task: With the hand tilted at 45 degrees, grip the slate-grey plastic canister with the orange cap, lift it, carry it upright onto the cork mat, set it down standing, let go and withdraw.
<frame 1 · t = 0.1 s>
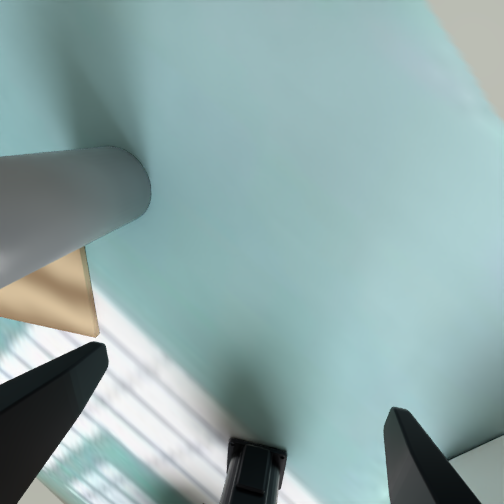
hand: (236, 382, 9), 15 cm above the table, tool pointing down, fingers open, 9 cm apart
mat: (37, 274, 29), on the table
milk carton: (495, 467, 27), on the table
canister: (116, 185, 24), on the table
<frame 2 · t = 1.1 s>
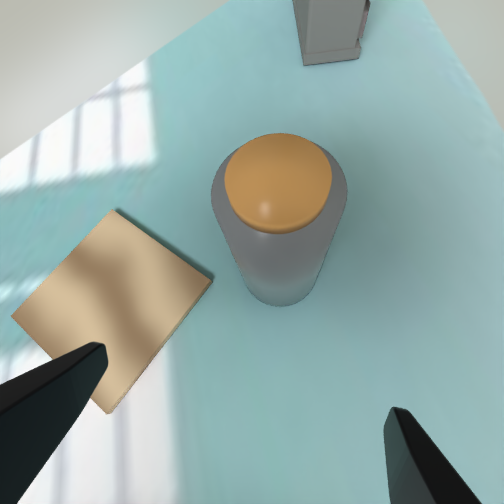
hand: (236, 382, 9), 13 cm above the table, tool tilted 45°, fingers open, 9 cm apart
mat: (113, 299, 25), on the table
tall grey pillar: (322, 25, 35), on the table
canister: (279, 270, 24), on the table
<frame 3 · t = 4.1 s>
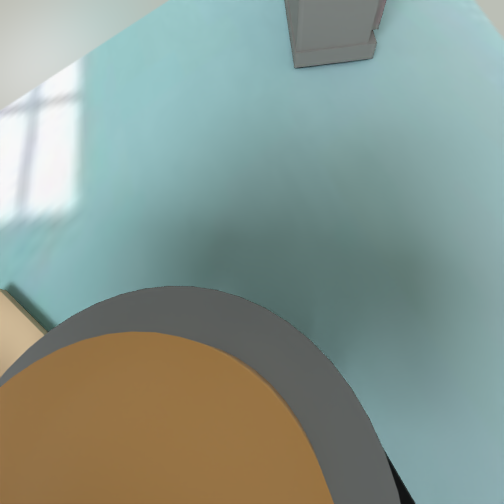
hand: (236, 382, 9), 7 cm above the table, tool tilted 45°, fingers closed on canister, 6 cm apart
tall grey pillar: (321, 13, 25), on the table
canister: (249, 405, 15), on the table, touching gripper
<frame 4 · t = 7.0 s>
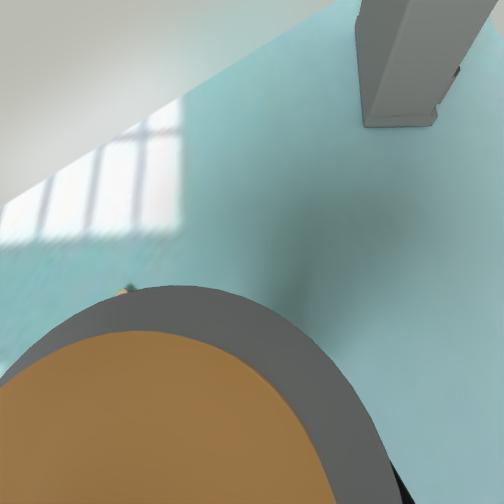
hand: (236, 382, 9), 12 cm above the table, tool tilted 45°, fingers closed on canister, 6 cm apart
tall grey pillar: (389, 76, 29), on the table
canister: (250, 404, 15), point 6 cm above the table, touching gripper
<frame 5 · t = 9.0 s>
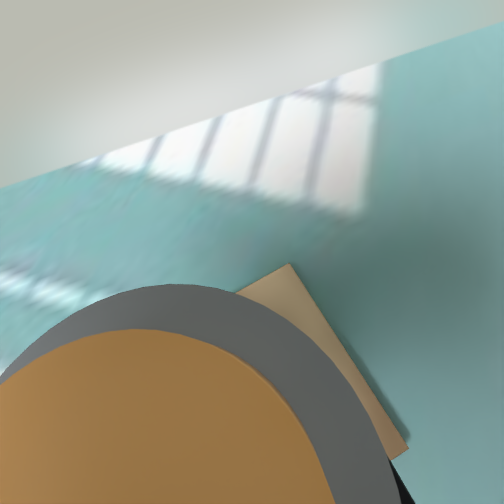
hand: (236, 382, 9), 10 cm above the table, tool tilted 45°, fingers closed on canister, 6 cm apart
mat: (255, 396, 18), on the table
canister: (249, 404, 15), point 3 cm above the table, touching gripper
when the fingers open (8 cm above the table, at t = 10.2 s): canister drops 1 cm, resting on mat.
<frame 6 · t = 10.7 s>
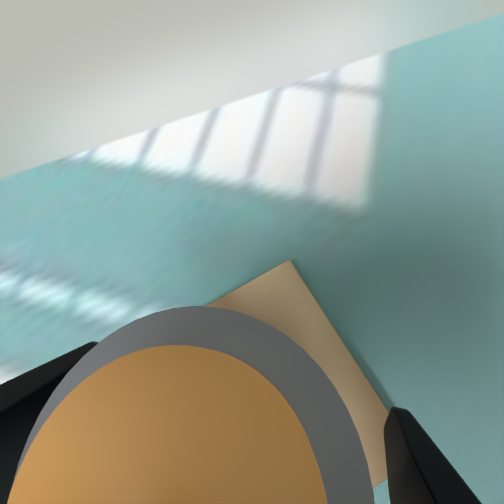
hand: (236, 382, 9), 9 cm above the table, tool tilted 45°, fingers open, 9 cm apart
mat: (253, 400, 16), on the table
canister: (252, 403, 16), point 1 cm above the table, touching mat
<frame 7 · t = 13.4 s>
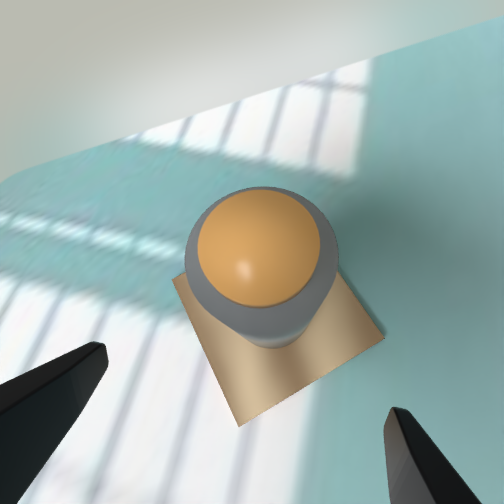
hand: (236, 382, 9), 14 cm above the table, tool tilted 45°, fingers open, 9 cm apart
mat: (271, 308, 23), on the table
canister: (271, 307, 23), point 1 cm above the table, touching mat
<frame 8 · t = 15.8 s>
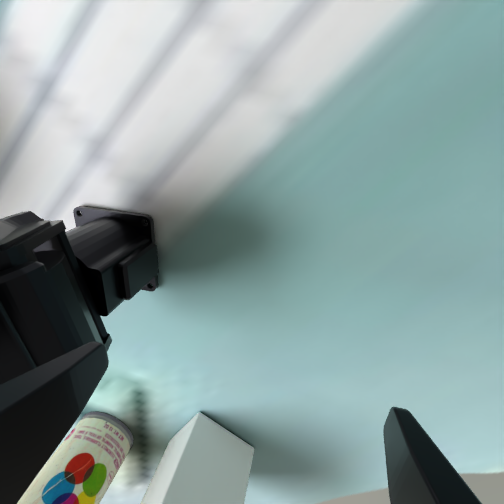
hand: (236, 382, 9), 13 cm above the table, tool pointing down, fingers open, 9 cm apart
milk carton: (211, 440, 32), on the table
aerosol can: (108, 430, 35), on the table
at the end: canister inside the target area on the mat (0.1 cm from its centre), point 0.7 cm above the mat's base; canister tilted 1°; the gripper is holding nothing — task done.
